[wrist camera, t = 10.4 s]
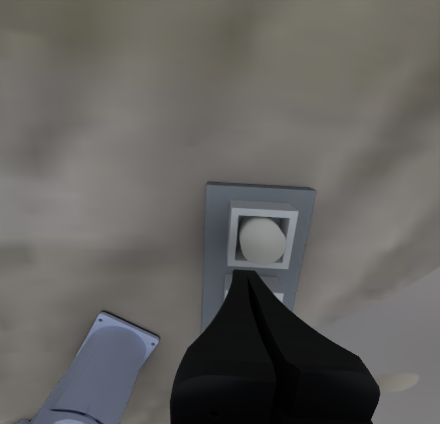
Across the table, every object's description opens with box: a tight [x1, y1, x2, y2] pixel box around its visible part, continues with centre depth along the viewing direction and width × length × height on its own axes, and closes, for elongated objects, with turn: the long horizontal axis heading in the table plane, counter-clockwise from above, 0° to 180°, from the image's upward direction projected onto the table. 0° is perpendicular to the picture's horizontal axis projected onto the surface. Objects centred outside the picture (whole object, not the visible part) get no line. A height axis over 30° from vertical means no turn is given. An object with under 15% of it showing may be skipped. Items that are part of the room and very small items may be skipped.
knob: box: [238, 216, 286, 265], centre depth 18 cm, size 4×4×4 cm
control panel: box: [201, 182, 316, 334], centre depth 22 cm, size 24×10×4 cm, turn 177°
